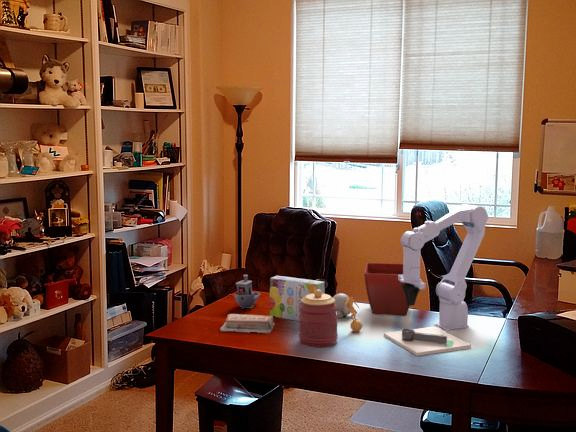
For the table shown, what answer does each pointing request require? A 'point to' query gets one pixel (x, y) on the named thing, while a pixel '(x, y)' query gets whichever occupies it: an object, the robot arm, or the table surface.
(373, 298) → the plant pot
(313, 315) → the canister
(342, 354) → the table surface
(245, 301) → the toy boat
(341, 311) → the chubby cartoon animal
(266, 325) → the butter dish
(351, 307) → the figurine
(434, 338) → the lever
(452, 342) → the dial board
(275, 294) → the snack box
